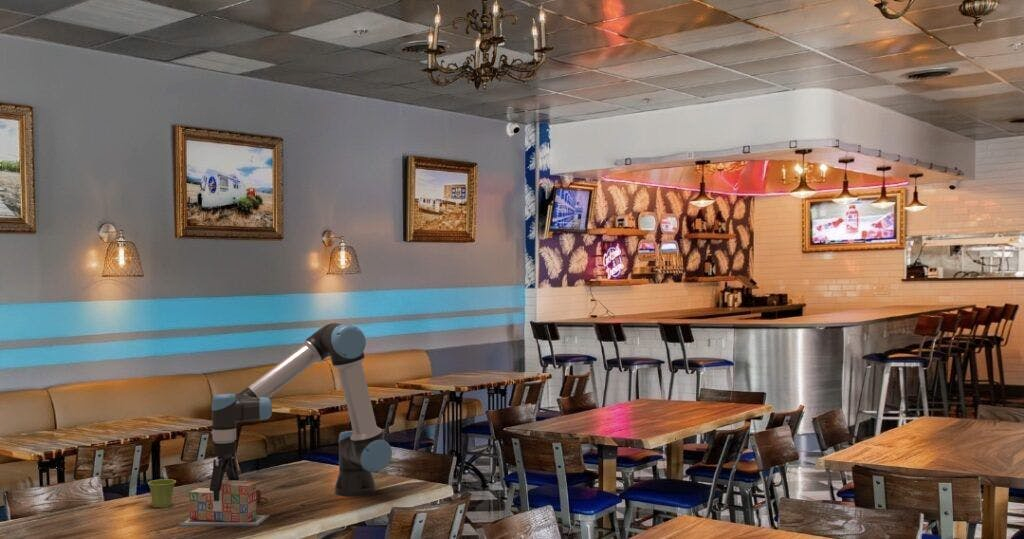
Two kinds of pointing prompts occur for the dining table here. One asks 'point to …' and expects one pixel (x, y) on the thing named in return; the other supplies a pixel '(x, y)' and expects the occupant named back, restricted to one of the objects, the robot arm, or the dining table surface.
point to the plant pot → (161, 492)
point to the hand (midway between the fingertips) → (225, 505)
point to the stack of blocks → (226, 502)
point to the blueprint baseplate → (223, 522)
